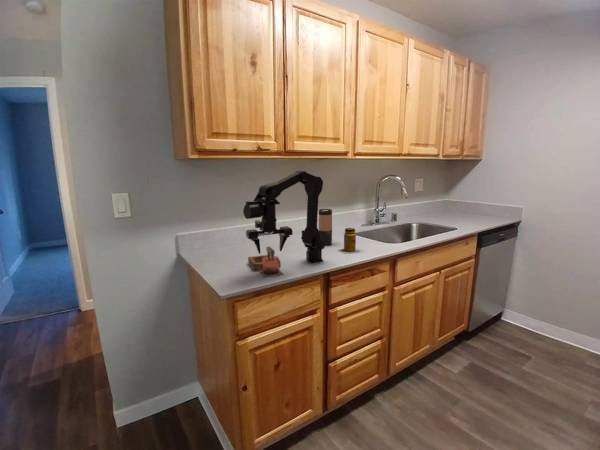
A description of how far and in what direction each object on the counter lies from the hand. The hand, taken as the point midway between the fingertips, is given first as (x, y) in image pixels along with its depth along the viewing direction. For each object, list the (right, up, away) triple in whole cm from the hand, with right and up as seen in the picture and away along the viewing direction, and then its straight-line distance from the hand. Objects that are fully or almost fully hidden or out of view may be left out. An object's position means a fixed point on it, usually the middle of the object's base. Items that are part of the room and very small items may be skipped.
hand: (270, 252), depth 131 cm
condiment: (+38, -2, +33) cm, 50 cm away
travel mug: (+27, 0, +47) cm, 54 cm away
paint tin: (0, -8, +2) cm, 9 cm away
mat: (0, -9, +2) cm, 9 cm away
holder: (-4, -7, +12) cm, 14 cm away
